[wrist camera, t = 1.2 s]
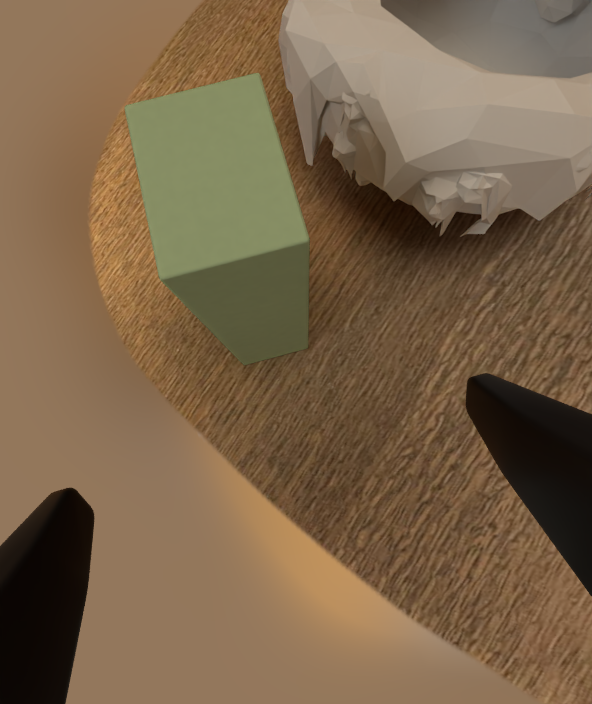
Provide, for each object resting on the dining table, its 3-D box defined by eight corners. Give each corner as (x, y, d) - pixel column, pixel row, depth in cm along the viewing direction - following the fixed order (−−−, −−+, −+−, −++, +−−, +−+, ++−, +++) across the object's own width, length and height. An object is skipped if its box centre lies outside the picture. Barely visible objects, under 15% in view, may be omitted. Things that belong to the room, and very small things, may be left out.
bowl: (393, -40, 28) (440, -290, 18) (650, 89, 25) (867, -127, 15) (223, 159, 25) (169, -15, 15) (491, 331, 22) (637, 254, 12)
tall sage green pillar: (285, 265, 23) (259, 70, 11) (308, 348, 22) (310, 240, 10) (223, 281, 23) (122, 104, 11) (243, 365, 22) (158, 280, 10)
